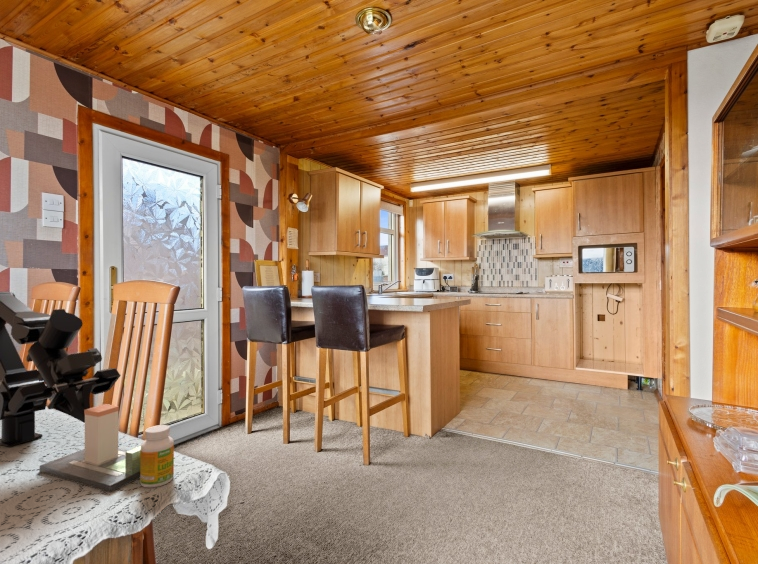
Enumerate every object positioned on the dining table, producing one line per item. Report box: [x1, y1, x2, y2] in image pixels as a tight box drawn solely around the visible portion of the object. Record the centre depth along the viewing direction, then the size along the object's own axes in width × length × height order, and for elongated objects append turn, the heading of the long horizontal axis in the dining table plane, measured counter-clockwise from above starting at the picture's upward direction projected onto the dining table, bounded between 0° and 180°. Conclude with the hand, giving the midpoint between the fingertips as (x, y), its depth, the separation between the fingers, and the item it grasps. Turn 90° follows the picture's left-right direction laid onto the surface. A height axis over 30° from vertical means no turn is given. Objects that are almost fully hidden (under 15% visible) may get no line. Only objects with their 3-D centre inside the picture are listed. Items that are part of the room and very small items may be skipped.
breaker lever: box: [84, 403, 120, 464], centre depth 80 cm, size 4×4×10 cm
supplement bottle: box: [139, 424, 175, 488], centre depth 73 cm, size 5×5×10 cm
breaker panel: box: [39, 445, 141, 493], centre depth 78 cm, size 20×11×5 cm, turn 69°
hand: (87, 421), depth 81 cm, fingers closed
